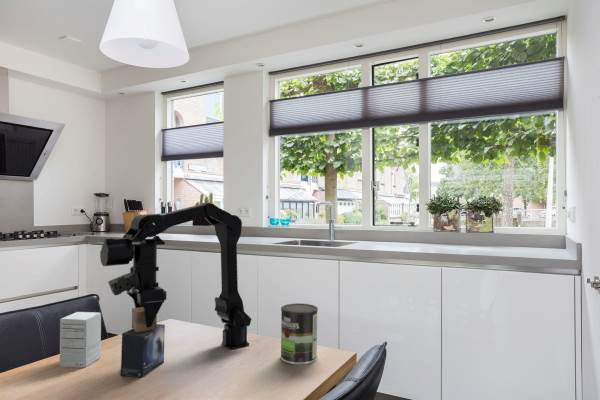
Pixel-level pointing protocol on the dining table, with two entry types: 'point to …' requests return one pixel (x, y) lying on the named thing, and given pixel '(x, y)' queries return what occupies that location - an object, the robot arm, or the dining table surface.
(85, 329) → the supplement box
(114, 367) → the dining table surface
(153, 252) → the robot arm
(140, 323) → the walnut cube
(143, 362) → the small box
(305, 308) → the coffee can
